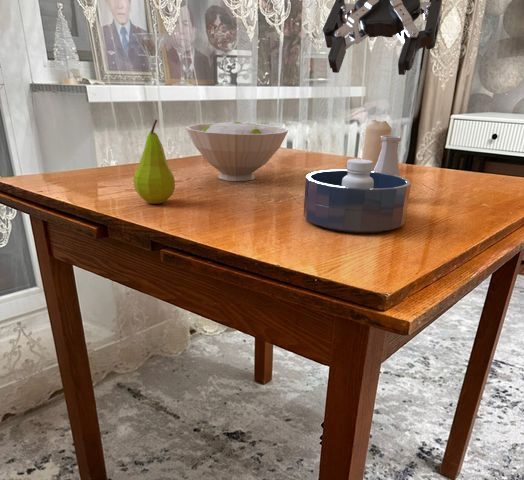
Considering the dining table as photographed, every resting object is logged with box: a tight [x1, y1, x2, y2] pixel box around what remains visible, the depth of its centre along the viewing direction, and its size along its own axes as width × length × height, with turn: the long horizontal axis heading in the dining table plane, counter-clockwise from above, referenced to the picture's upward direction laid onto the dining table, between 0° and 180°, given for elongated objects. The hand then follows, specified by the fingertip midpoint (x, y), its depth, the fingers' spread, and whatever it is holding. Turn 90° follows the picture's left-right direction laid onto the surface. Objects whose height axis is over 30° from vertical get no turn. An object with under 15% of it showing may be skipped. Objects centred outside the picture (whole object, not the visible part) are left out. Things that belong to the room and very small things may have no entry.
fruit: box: [132, 119, 176, 205], centre depth 81 cm, size 6×6×12 cm
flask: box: [373, 134, 402, 177], centre depth 89 cm, size 7×7×10 cm
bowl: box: [185, 121, 289, 182], centre depth 103 cm, size 19×19×10 cm
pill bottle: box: [342, 158, 374, 188], centre depth 75 cm, size 4×4×8 cm
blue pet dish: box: [302, 169, 412, 234], centre depth 76 cm, size 14×14×6 cm
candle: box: [361, 119, 392, 172], centre depth 115 cm, size 6×6×10 cm
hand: (367, 68), depth 67 cm, fingers open, 8 cm apart
